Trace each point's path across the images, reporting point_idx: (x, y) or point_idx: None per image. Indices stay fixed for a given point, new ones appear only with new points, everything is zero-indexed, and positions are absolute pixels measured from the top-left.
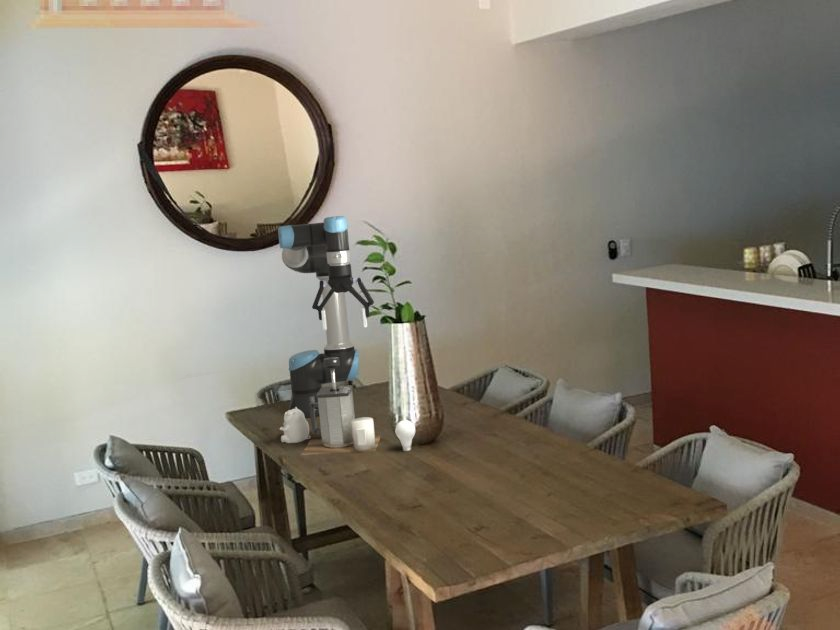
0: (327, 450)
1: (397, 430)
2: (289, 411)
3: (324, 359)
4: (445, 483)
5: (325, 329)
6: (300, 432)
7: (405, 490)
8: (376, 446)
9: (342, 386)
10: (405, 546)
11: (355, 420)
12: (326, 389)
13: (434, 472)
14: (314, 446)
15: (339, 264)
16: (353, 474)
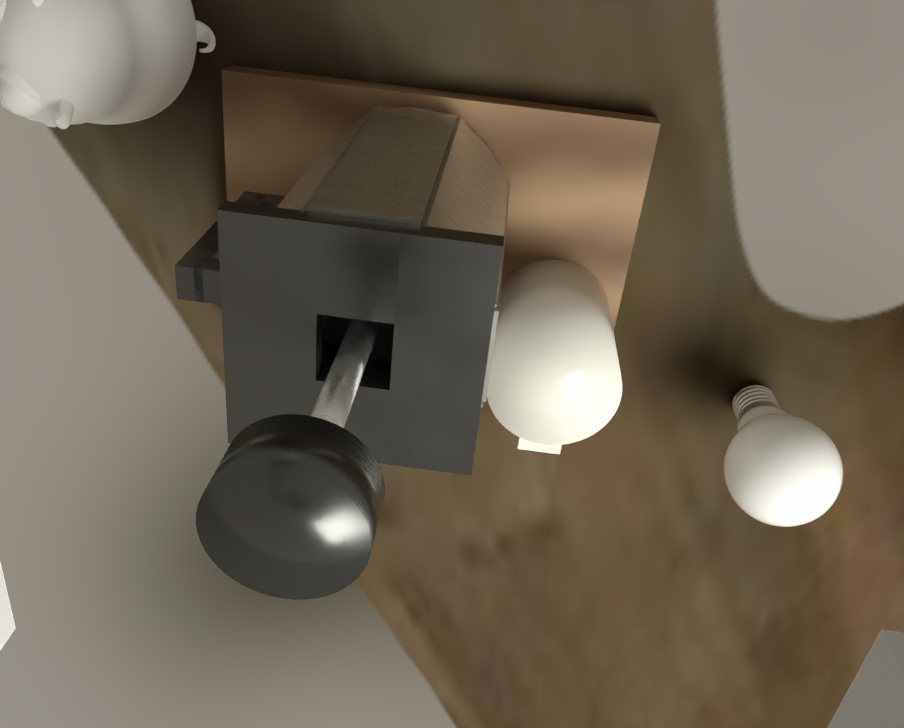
0: None
1: (734, 500)
2: (12, 103)
3: (206, 537)
4: (809, 701)
5: (6, 631)
6: (153, 115)
7: (665, 711)
8: (612, 319)
9: (412, 257)
10: None
11: (512, 379)
12: (279, 305)
13: (804, 613)
14: None
15: None
16: (492, 546)
